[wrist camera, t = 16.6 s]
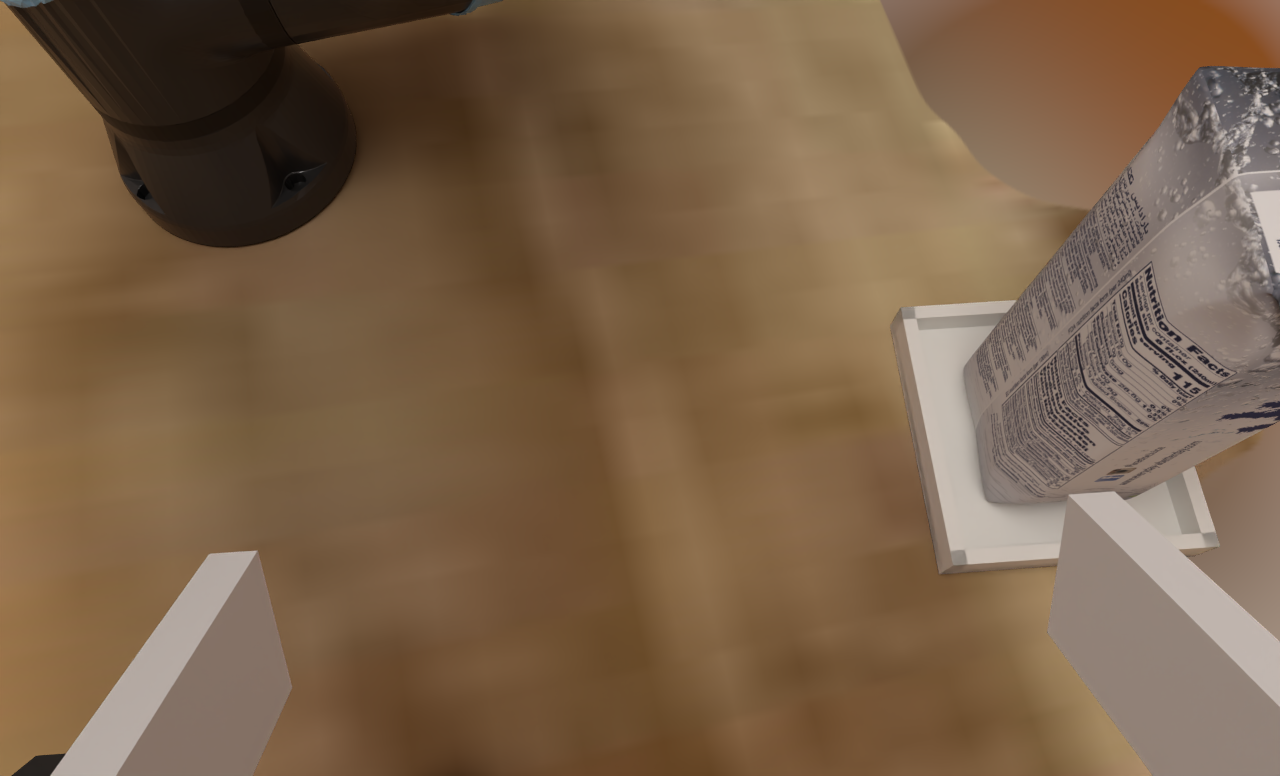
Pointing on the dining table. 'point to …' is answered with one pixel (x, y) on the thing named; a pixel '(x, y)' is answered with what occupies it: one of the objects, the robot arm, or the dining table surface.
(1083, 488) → the juice carton
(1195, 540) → the carton tray
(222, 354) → the dining table surface
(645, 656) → the dining table surface
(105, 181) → the dining table surface
